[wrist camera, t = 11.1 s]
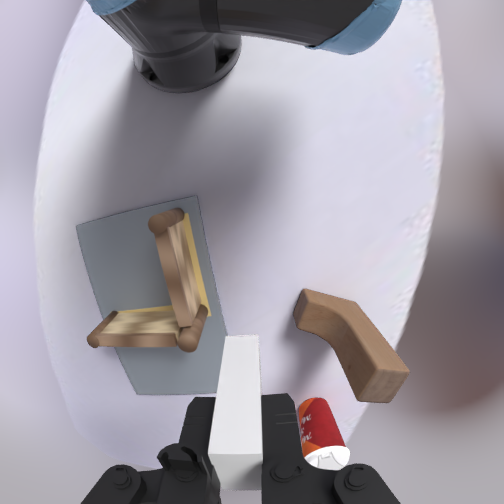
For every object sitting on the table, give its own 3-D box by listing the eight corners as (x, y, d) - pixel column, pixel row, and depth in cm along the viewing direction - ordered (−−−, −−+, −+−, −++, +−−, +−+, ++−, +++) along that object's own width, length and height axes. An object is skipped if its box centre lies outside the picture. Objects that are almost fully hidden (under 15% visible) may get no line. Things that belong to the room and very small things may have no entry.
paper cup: (289, 399, 44) (298, 460, 30) (330, 388, 44) (350, 446, 30) (297, 424, 46) (306, 480, 32) (335, 414, 45) (352, 468, 32)
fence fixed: (167, 209, 36) (142, 218, 27) (184, 205, 36) (163, 213, 27) (194, 319, 39) (180, 353, 31) (209, 317, 39) (199, 351, 31)
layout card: (77, 225, 37) (75, 225, 36) (196, 195, 36) (196, 195, 35) (137, 392, 44) (136, 394, 44) (241, 388, 43) (241, 390, 43)
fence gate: (188, 306, 39) (174, 335, 31) (190, 319, 39) (178, 348, 31) (109, 310, 39) (84, 335, 31) (112, 322, 39) (89, 347, 32)
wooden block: (291, 314, 40) (315, 398, 22) (302, 286, 39) (336, 362, 21) (344, 327, 40) (390, 404, 23) (356, 301, 39) (412, 371, 22)
